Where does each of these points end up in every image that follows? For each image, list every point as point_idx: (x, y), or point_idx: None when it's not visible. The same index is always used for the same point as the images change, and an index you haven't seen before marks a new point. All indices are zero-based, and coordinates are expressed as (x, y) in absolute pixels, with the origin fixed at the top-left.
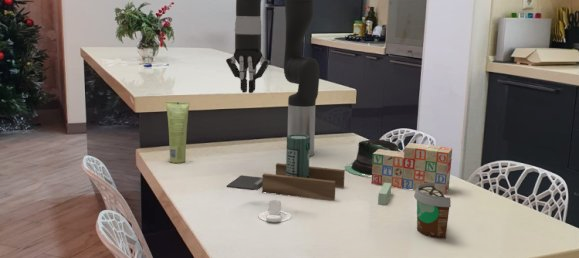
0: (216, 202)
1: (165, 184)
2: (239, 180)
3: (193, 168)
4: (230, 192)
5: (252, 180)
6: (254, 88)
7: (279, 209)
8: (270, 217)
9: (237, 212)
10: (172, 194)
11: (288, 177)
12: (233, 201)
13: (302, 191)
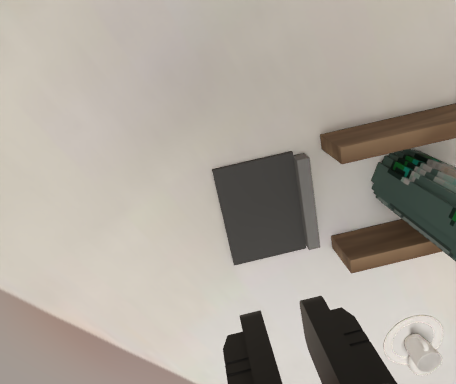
0: (275, 346)
1: (91, 327)
2: (238, 213)
3: (26, 180)
4: (265, 286)
5: (269, 193)
6: (354, 332)
7: (432, 353)
8: (423, 374)
9: None
10: (162, 362)
11: (422, 254)
12: None
13: None
